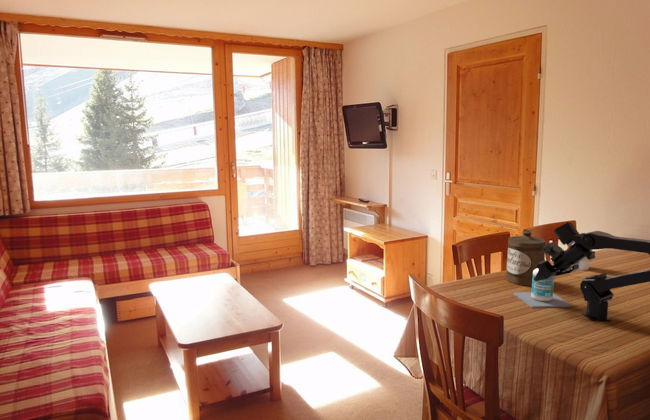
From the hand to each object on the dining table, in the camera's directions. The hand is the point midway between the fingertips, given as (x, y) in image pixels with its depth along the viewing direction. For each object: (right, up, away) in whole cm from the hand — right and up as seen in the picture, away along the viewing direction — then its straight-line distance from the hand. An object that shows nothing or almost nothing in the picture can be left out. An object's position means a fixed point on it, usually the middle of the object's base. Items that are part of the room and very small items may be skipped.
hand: (542, 278), depth 178 cm
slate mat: (0, -8, +1) cm, 9 cm away
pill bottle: (0, -8, +1) cm, 8 cm away
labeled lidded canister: (+4, -5, +25) cm, 26 cm away
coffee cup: (+38, -2, +44) cm, 58 cm away
